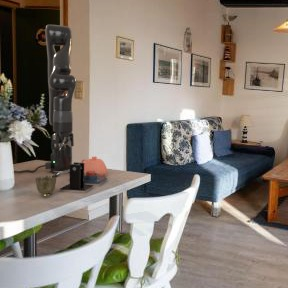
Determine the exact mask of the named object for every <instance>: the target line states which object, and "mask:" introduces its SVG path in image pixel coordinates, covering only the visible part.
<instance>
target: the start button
mask: <svg viewBox="0 0 288 288" xmlns="http://www.w3.org/2000/svg"><path fill="white" fill-rule="evenodd" d="M86 175H87V176H93V175H95V171H87V172H86Z"/></svg>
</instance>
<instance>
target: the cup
mask: <svg viewBox="0 0 288 288" xmlns="http://www.w3.org/2000/svg"><path fill="white" fill-rule="evenodd" d="M35 184H36V185H35V186H36V189H37V192H38V193H39V194H40V195H41V196H42V197H48V196H51V195H52V193H53V192H54V191H55V190H56V184H57V177H53V178H52V176H50V175H49V176H48V175H45V176H42V177H41V176H39V177H38V176H37V177H36V178H35Z"/></svg>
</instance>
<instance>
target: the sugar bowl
mask: <svg viewBox="0 0 288 288" xmlns="http://www.w3.org/2000/svg"><path fill="white" fill-rule="evenodd" d="M80 163H84V174H85V173H86V172H87V171H95V173H97V174H99V176H105V175H106V174H107V173H108V169H107V165H106V163H105V162H104V160H103V159H102V158H98V156H91V158H83V159H82V160H81V161H80Z"/></svg>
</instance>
